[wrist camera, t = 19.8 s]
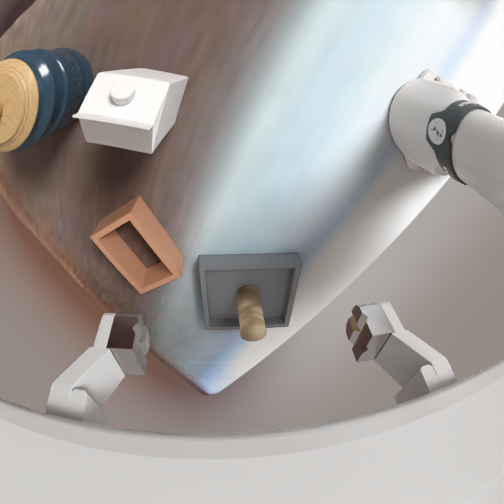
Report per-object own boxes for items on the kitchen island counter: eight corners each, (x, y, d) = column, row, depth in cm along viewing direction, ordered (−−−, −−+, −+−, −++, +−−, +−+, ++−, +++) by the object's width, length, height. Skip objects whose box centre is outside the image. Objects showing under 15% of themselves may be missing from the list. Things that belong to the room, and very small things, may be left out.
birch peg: (259, 284, 55) (267, 325, 47) (258, 300, 58) (265, 340, 50) (236, 285, 55) (240, 327, 47) (236, 301, 58) (240, 341, 50)
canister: (110, 94, 32) (45, 119, 18) (51, 142, 34) (-15, 191, 20) (74, 31, 24) (-2, 29, 10) (18, 85, 27) (-56, 113, 13)
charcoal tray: (298, 252, 53) (301, 263, 50) (285, 316, 64) (288, 326, 61) (199, 255, 51) (198, 265, 48) (205, 319, 62) (205, 330, 59)
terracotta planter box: (139, 195, 43) (130, 212, 38) (184, 256, 51) (181, 276, 46) (100, 219, 44) (90, 237, 40) (146, 273, 52) (140, 294, 48)
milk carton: (175, 123, 36) (141, 169, 21) (129, 114, 34) (67, 155, 19) (189, 76, 33) (161, 85, 18) (141, 67, 31) (79, 74, 16)
